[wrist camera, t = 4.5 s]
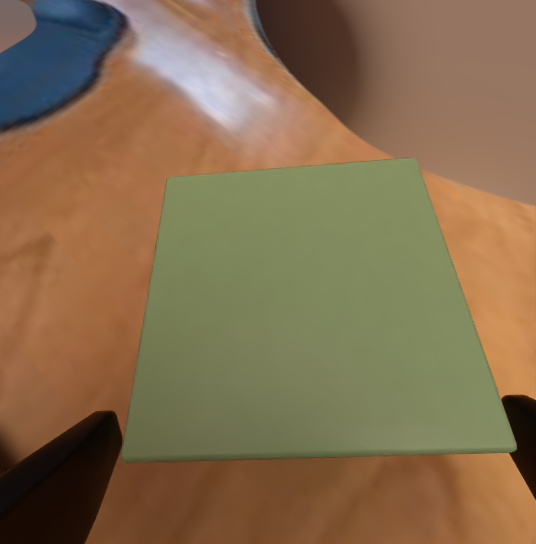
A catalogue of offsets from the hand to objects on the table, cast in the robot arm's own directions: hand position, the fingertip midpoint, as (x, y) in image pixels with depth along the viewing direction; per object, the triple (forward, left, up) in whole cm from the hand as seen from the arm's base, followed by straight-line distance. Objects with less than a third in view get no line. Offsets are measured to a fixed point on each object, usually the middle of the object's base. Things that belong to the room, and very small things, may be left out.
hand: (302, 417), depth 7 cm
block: (+1, -1, -9) cm, 9 cm away
